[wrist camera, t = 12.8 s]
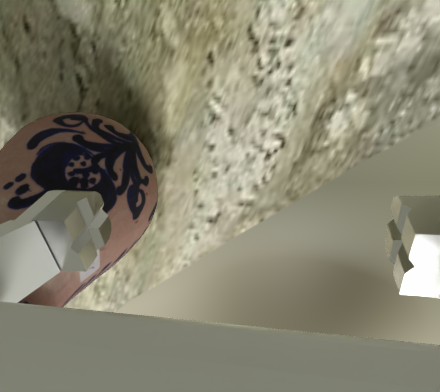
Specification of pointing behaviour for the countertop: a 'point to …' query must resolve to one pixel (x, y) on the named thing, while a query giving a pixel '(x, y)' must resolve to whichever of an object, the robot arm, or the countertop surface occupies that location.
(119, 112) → the countertop surface
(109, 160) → the ceramic pitcher
